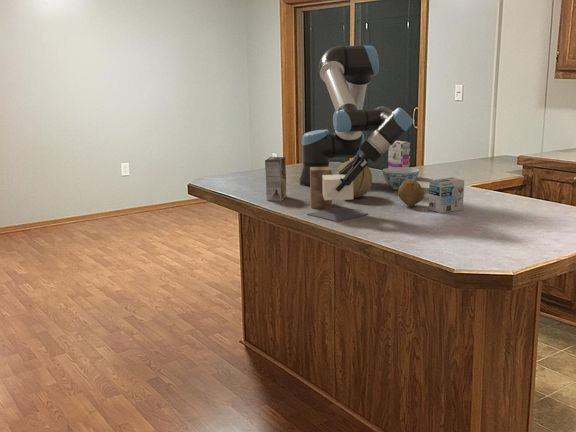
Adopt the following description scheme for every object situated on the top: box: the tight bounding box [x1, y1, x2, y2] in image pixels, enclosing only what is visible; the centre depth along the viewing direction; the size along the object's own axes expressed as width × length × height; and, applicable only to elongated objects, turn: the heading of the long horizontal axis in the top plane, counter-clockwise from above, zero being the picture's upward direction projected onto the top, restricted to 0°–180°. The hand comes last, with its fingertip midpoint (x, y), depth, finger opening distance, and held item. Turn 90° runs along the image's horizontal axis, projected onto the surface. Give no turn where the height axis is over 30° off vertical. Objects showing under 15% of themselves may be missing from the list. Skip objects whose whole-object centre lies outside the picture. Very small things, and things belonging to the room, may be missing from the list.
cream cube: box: [322, 174, 354, 201], centre depth 212 cm, size 10×10×7 cm
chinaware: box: [382, 167, 420, 190], centre depth 257 cm, size 15×15×8 cm
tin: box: [309, 166, 333, 209], centre depth 228 cm, size 8×8×14 cm
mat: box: [306, 206, 369, 223], centre depth 214 cm, size 15×15×1 cm
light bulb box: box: [428, 177, 465, 214], centre depth 216 cm, size 11×7×11 cm, turn 117°
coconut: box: [397, 179, 425, 207], centre depth 224 cm, size 9×9×10 cm
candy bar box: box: [387, 140, 411, 168], centre depth 284 cm, size 11×5×16 cm, turn 25°
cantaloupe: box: [334, 160, 373, 199], centre depth 241 cm, size 15×15×15 cm
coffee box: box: [264, 156, 287, 202], centre depth 243 cm, size 9×6×16 cm
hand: (328, 194), depth 212 cm, fingers closed on cream cube, 10 cm apart
